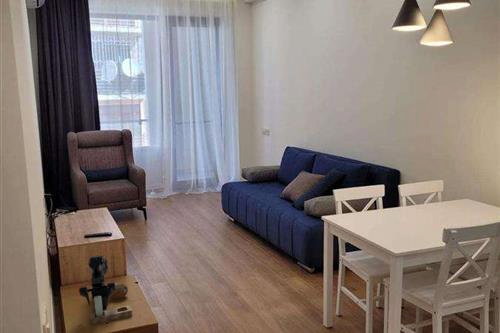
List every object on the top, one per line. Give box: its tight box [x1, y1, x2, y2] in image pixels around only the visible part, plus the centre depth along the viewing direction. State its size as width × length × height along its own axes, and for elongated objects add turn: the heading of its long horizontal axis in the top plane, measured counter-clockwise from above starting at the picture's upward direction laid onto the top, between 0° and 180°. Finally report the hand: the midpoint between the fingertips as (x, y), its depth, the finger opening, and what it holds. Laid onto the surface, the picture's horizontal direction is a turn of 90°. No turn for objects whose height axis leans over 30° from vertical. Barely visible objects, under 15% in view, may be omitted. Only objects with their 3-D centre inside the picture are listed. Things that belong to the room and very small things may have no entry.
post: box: [93, 296, 104, 317], centre depth 247 cm, size 4×4×13 cm
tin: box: [106, 282, 129, 300], centre depth 275 cm, size 15×3×8 cm, turn 94°
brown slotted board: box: [90, 304, 133, 325], centre depth 250 cm, size 21×7×3 cm, turn 111°
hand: (98, 303), depth 247 cm, fingers open, 9 cm apart
